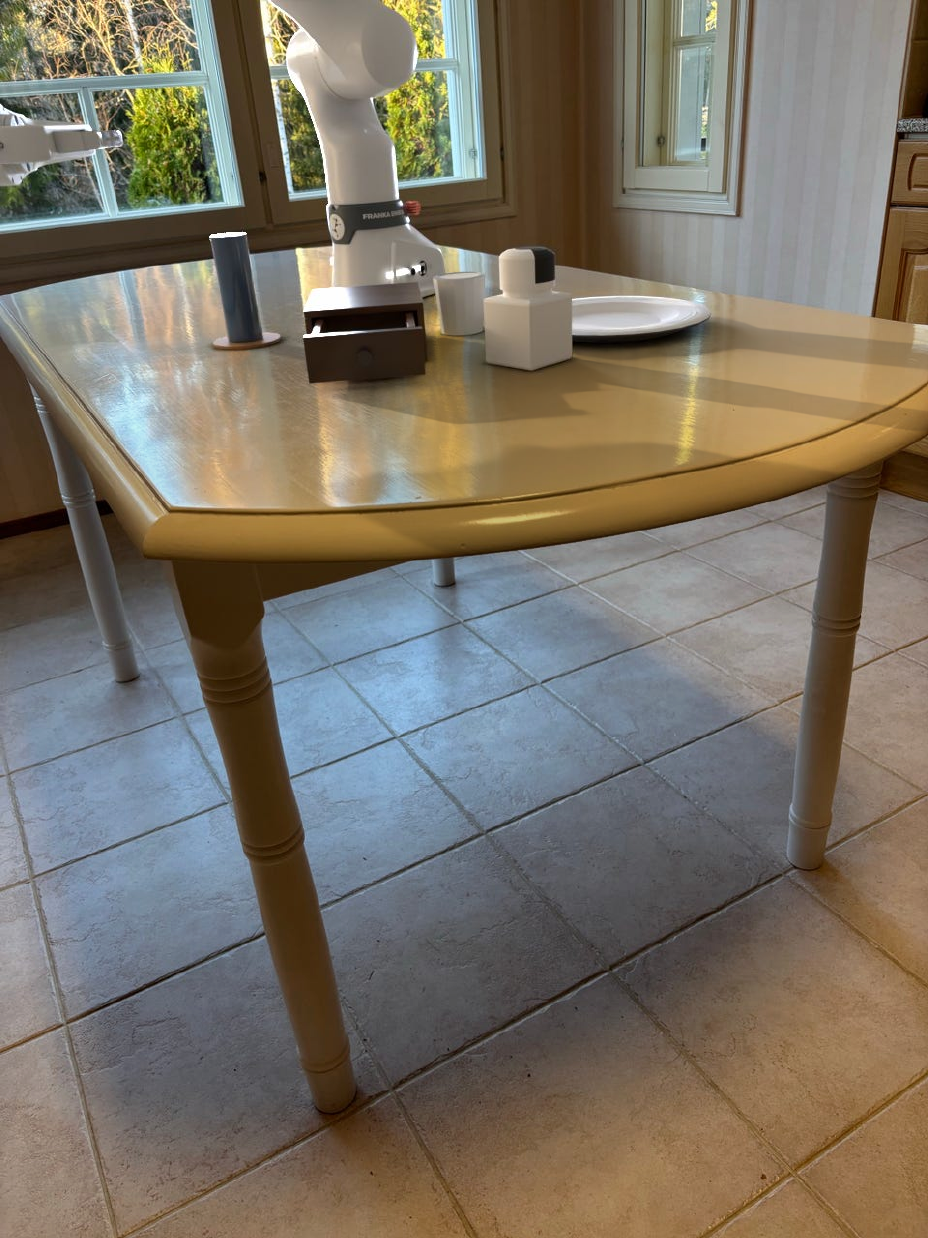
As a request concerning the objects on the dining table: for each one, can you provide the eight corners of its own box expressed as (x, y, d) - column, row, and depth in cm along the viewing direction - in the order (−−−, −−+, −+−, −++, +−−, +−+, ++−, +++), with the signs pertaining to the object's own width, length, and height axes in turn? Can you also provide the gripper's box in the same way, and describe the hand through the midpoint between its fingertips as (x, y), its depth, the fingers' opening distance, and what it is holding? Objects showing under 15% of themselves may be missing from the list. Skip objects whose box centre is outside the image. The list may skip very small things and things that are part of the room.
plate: (649, 302, 129) (650, 288, 128) (750, 333, 108) (752, 317, 107) (486, 323, 123) (485, 308, 122) (559, 359, 102) (559, 342, 101)
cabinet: (427, 361, 105) (423, 302, 102) (311, 369, 104) (303, 310, 101) (422, 334, 118) (418, 281, 115) (319, 341, 118) (312, 289, 115)
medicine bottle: (526, 351, 106) (524, 242, 101) (573, 358, 102) (573, 245, 96) (484, 363, 102) (479, 250, 96) (531, 371, 98) (529, 253, 92)
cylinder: (251, 334, 123) (233, 231, 117) (269, 337, 120) (253, 233, 114) (221, 340, 120) (202, 236, 114) (240, 344, 117) (221, 237, 111)
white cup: (482, 335, 115) (480, 278, 112) (431, 336, 117) (427, 280, 113) (492, 324, 121) (489, 270, 118) (442, 325, 123) (439, 271, 119)
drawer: (426, 377, 94) (422, 330, 92) (308, 386, 94) (301, 339, 92) (420, 345, 108) (417, 304, 106) (317, 353, 108) (312, 312, 105)
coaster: (257, 332, 126) (256, 329, 126) (294, 339, 120) (293, 336, 120) (200, 344, 121) (200, 341, 120) (236, 352, 115) (236, 349, 115)
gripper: (-51, 114, 96) (79, 107, 97) (15, 114, 114) (125, 109, 115) (-33, 179, 100) (94, 172, 100) (29, 170, 117) (136, 164, 118)
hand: (111, 138), depth 108 cm, fingers open, 8 cm apart
